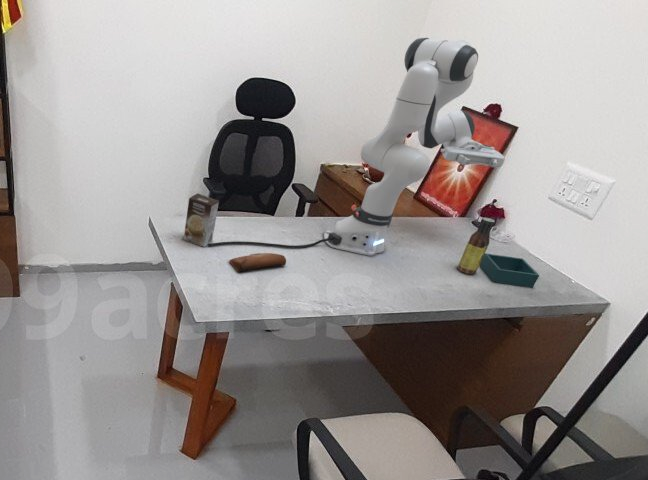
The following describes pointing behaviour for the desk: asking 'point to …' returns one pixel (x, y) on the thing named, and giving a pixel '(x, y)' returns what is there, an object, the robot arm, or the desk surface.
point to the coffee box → (200, 219)
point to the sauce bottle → (476, 247)
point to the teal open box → (509, 270)
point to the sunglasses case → (257, 261)
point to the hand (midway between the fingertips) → (481, 163)
